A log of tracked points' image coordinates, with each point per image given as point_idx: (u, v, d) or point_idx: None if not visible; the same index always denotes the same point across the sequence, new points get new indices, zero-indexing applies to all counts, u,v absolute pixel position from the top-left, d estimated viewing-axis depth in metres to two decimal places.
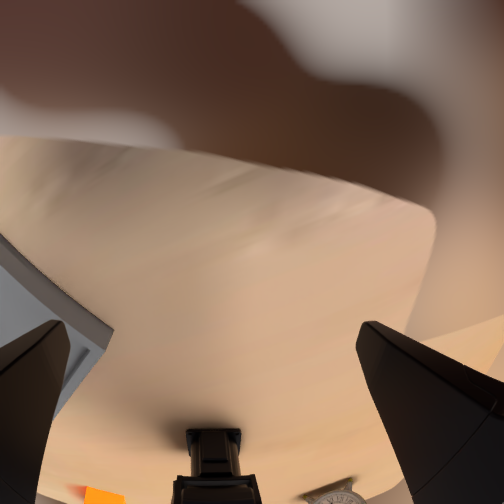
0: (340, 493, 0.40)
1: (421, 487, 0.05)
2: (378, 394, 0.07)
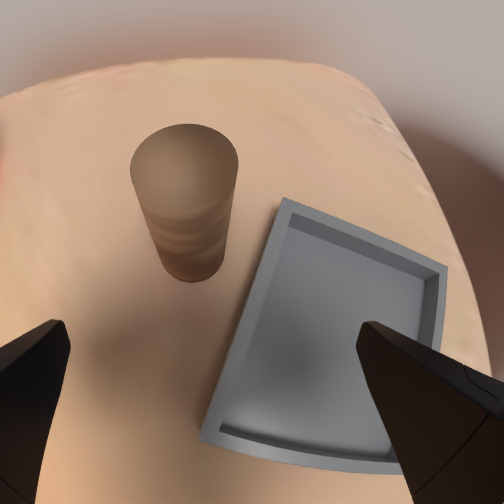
0: None
1: (422, 486, 0.05)
2: (378, 394, 0.07)
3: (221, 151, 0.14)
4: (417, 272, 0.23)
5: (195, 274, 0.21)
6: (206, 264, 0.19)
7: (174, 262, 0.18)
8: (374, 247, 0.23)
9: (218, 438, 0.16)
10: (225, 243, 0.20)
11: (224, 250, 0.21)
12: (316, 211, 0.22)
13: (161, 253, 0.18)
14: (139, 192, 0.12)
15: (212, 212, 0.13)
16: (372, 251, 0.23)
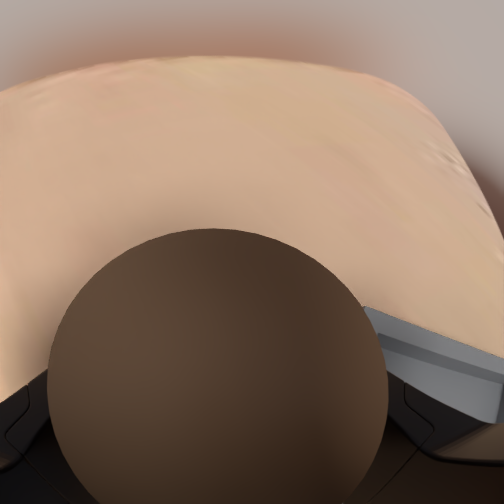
0: None
1: None
2: None
3: (341, 352, 0.04)
4: (501, 380, 0.13)
5: None
6: None
7: None
8: (469, 365, 0.13)
9: None
10: None
11: None
12: (410, 326, 0.13)
13: None
14: (93, 495, 0.03)
15: None
16: (464, 368, 0.13)
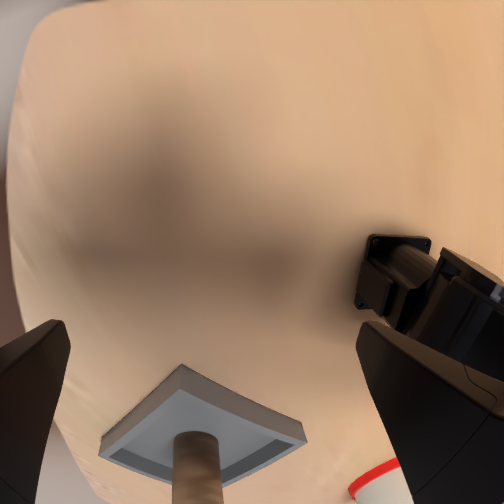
0: None
1: (422, 486, 0.05)
2: (378, 394, 0.07)
3: None
4: (121, 453, 0.27)
5: (207, 446, 0.26)
6: (200, 456, 0.24)
7: (217, 467, 0.24)
8: (158, 474, 0.28)
9: (297, 442, 0.27)
10: (181, 457, 0.24)
11: (182, 447, 0.25)
12: None
13: (220, 471, 0.25)
14: None
15: None
16: (157, 470, 0.28)
